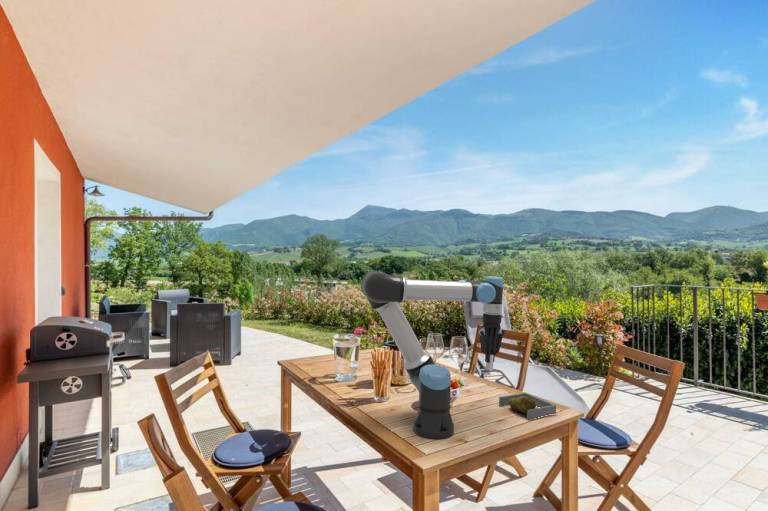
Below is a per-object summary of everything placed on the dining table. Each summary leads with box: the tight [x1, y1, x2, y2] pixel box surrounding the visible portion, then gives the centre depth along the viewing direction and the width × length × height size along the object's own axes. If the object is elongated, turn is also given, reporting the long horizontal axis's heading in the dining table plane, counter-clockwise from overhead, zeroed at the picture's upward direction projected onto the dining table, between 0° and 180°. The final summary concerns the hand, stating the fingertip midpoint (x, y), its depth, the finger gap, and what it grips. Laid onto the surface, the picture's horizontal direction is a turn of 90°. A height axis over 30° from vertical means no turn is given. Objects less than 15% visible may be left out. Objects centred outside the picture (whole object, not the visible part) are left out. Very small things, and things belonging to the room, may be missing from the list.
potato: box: [508, 396, 537, 414], centre depth 181 cm, size 8×13×8 cm, turn 5°
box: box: [498, 392, 557, 421], centre depth 184 cm, size 15×18×4 cm
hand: (489, 369), depth 178 cm, fingers closed
